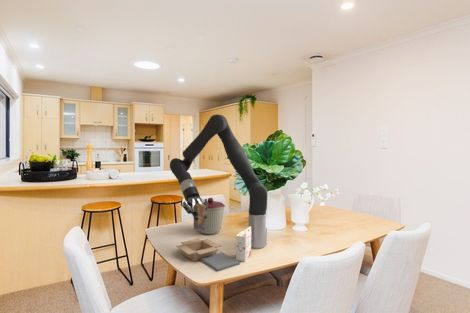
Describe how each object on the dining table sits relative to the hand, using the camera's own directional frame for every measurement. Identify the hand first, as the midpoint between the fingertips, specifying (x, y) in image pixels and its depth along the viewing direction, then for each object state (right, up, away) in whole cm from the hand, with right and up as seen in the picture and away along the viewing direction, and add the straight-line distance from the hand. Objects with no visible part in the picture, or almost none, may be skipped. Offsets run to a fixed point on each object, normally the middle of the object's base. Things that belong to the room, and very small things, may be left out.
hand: (201, 218), depth 131 cm
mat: (+9, -18, -6) cm, 21 cm away
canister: (+1, -16, +36) cm, 40 cm away
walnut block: (-1, -5, +2) cm, 6 cm away
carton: (-2, -18, +2) cm, 18 cm away
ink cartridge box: (+20, -18, -1) cm, 27 cm away
